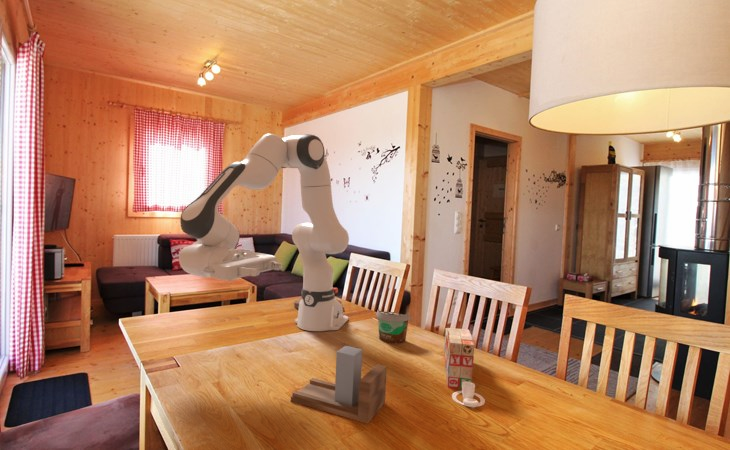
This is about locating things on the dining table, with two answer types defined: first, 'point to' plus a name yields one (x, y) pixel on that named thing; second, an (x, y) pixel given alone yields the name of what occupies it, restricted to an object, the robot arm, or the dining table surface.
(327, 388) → the holder
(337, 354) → the block
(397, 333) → the food container
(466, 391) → the teacup and saucer
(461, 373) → the stack of blocks
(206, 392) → the dining table surface
